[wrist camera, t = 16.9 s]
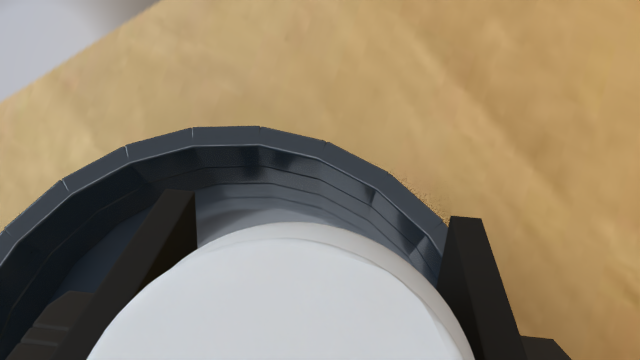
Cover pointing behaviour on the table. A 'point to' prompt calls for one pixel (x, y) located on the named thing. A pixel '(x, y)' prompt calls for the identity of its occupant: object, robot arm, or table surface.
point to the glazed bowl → (201, 209)
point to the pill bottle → (287, 303)
